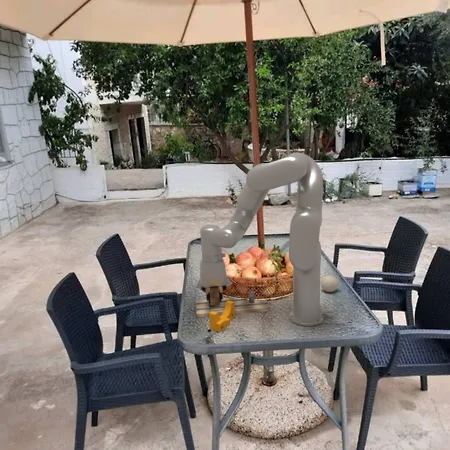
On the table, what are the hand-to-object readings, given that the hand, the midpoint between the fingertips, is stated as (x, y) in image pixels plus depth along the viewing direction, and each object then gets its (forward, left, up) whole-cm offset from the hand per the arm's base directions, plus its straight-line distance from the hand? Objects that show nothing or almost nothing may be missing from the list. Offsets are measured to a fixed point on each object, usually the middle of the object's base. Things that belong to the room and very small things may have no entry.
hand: (214, 301), depth 161 cm
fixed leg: (-15, 0, -2) cm, 15 cm away
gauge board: (-7, 0, -3) cm, 7 cm away
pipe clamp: (-3, +12, -4) cm, 13 cm away
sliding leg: (0, 0, -1) cm, 1 cm away
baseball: (-49, -7, -3) cm, 49 cm away
